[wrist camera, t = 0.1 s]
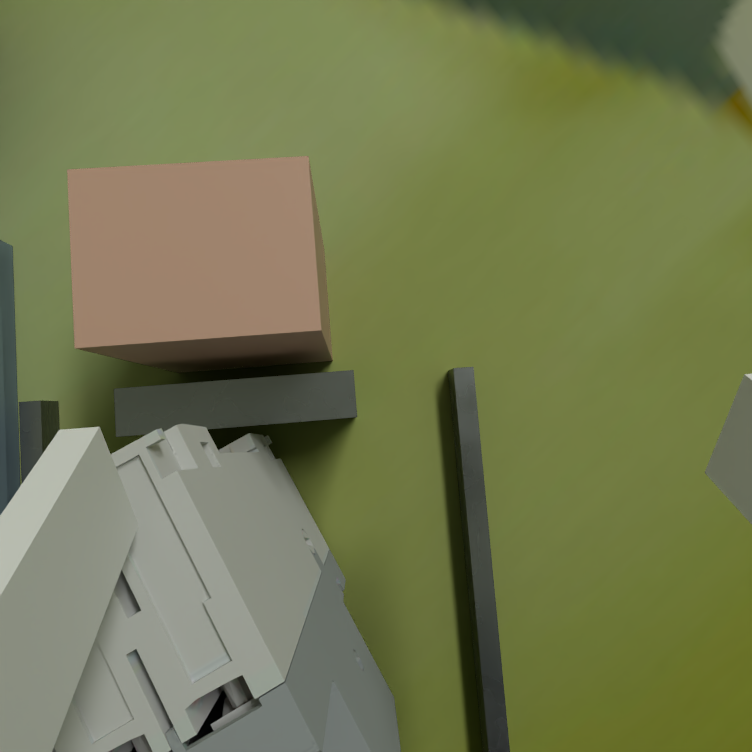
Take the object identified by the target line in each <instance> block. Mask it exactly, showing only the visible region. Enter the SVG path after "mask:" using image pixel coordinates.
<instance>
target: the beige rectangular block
mask: <svg viewBox="0 0 752 752" xmlns="http://www.w3.org/2000/svg"><path fill="white" fill-rule="evenodd" d="M67 173H68V197H69V221H70V246H71V270H72V294H73V318H74V342H75V348H76V349H80V350H84V351H88V352H92V353H97V354H101V355H105V356H109V357H113V358H118V359H122V360H126V361H130V362H134V363H139V364H143V365H147V366H151V367H155V368H160V369H164V370H168V371H172V372H176V373H181V372H194V371H207V370H220V369H233V368H246V367H259V366H273V365H286V364H299V363H312V362H325V361H333V359H332V345H331V332H330V319H329V306H328V293H327V280H326V266H325V253H324V245H323V239H322V233H321V227H320V221H319V216H318V210H317V204H316V198H315V192H314V186H313V180H312V174H311V168H310V163H309V157H308V156H301V157H284V158H266V159H248V160H230V161H212V162H194V163H176V164H159V165H141V166H123V167H105V168H87V169H69V170H67Z"/></svg>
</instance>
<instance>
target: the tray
mask: <svg viewBox="0 0 752 752" xmlns="http://www.w3.org/2000/svg"><path fill="white" fill-rule="evenodd" d="M19 488H20V461H19V431H18V400H17V370H16V339H15V309H14V279H13V248H12V246H11V245H9V244H7V243H5V242H3V241H1V240H0V515H1V514H2V512H3V511H4V509H5V508H6V507H7V505H8V504H9V502H10V501H11V499H12V498H13V496H14V495H15V493H16V492H17V491H18V489H19Z"/></svg>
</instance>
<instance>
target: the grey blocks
mask: <svg viewBox="0 0 752 752" xmlns="http://www.w3.org/2000/svg"><path fill="white" fill-rule="evenodd" d="M448 377H449V388H450V399H451V410H452V421H453V432H454V442H455V453H456V464H457V475H458V486H459V497H460V508H461V519H462V530H463V541H464V552H465V563H466V574H467V585H468V595H469V606H470V617H471V628H472V639H473V650H474V661H475V672H476V683H477V694H478V705H479V716H480V727H481V738H482V748H483V752H510V749H509V738H508V728H507V717H506V706H505V696H504V685H503V675H502V664H501V654H500V643H499V633H498V622H497V612H496V601H495V591H494V580H493V570H492V559H491V549H490V538H489V527H488V517H487V506H486V496H485V485H484V475H483V464H482V454H481V443H480V433H479V422H478V412H477V401H476V391H475V380H474V370H473V367H466V368H453V369H451V370H449V371H448ZM114 403H115V425H116V437H120V436H133V435H145V434H149V433H151V432H152V431H154V430H156V429H161V428H162V430H163V432H164V431H166V430H168V429H170V428H172V427H173V426H175V425H178V424H188V425H195V426H202V427H206V428H207V429H218V428H230V427H243V426H255V425H267V424H279V423H291V422H304V421H316V420H328V419H340V418H352V417H357V410H356V397H355V385H354V372H353V370H350V371H337V372H324V373H311V374H298V375H285V376H272V377H259V378H246V379H233V380H220V381H207V382H194V383H182V384H169V385H156V386H143V387H130V388H117V389H114ZM19 415H20V445H21V475H22V483H23V482H24V480H25V479H26V477H27V476H28V474H29V473H30V472H31V470H32V469H33V467H34V466H35V464H36V463H37V461H38V460H39V458H40V457H41V456H42V454H43V453H44V451H45V450H46V448H47V447H48V445H49V444H50V442H51V441H52V440H53V438H54V437H55V435H56V434H57V432H58V431H59V408H58V401H29V402H19Z"/></svg>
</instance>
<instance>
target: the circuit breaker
mask: <svg viewBox="0 0 752 752" xmlns="http://www.w3.org/2000/svg"><path fill="white" fill-rule="evenodd" d="M270 444H272V441H271V440H270V438H269V436H265V437H264V436H263V435H260V434H252V433H248V434H247V435H245V436H243V437H241V438H239V439H238V440H236V441H234V442H232V443H230V444H229V445H227V446H225V447H223V448H221V449H220V450H218V449H217V447H216V445H215V443H214V441H213V440H212V438H211V436H210V434H209V432H208V430H207V428H206V427H202V426H195V425H188V424H178V425H175V426H173V427H172V428H170V429H168V430H166V431H164V432H163V430H162V428H161V429H156V430H154V431H152V432H151V433H149V434H147V435H145V436H143V437H141V438H140V439H138V440H136V441H134V442H132V443H130V444H129V445H127V446H125V447H123V448H121V449H119V450H118V451H116V452H114V453H112V454H111V456H112V459H113V461H114V464H115V466H116V469H117V471H118V474H119V476H120V479H121V481H122V484H123V486H124V489H125V491H126V494H127V496H128V499H129V501H130V504H131V506H132V509H133V511H134V514H135V516H136V519H137V521H138V524H139V525H138V528H137V531H136V533H135V536H134V538H133V541H132V544H131V546H130V549H129V552H128V554H127V557H126V559H125V562H124V565H123V567H122V570H121V572H120V575H119V578H118V580H117V583H116V586H115V588H114V591H113V593H112V596H111V599H110V601H109V604H108V606H107V609H106V612H105V614H104V617H103V620H102V622H101V625H100V627H99V630H98V633H97V635H96V638H95V640H94V643H93V646H92V648H91V651H90V654H89V656H88V659H87V661H86V664H85V667H84V669H83V672H82V674H81V677H80V680H79V682H78V685H77V688H76V690H75V693H74V695H73V698H72V701H71V703H70V706H69V708H68V711H67V714H66V716H65V719H64V722H63V724H62V727H61V729H60V732H59V735H58V737H57V740H56V742H55V745H54V748H53V750H52V752H401V749H400V741H399V733H398V725H397V717H396V709H395V701H394V697H393V695H392V693H391V691H390V689H389V687H388V685H387V683H386V682H385V680H384V678H383V676H382V674H381V672H380V670H379V668H378V666H377V665H376V663H375V661H374V659H373V657H372V655H371V653H370V651H369V650H368V648H367V646H366V644H365V642H364V640H363V638H362V636H361V634H360V633H359V631H358V629H357V627H356V625H355V623H354V621H353V619H352V618H351V616H350V614H349V612H348V610H347V608H346V606H345V604H344V602H343V597H344V594H343V592H342V591H343V590H344V588H345V577H344V576H343V574H342V572H341V570H340V568H339V566H338V564H337V562H336V561H335V559H334V557H333V555H332V553H331V551H330V550H329V548H328V546H327V544H326V542H325V540H324V538H323V536H322V535H321V533H320V531H319V529H318V527H317V525H316V523H315V521H314V520H313V518H312V516H311V514H310V512H309V510H308V508H307V507H306V505H305V503H304V501H303V499H302V497H301V495H300V494H299V492H298V490H297V488H296V486H295V484H294V482H293V480H292V479H291V477H290V475H289V473H288V471H287V469H286V467H285V466H284V464H283V462H282V460H281V459H275V457H274V455H273V453H272V451H271V449H270V448H269V446H268V445H270Z"/></svg>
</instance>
